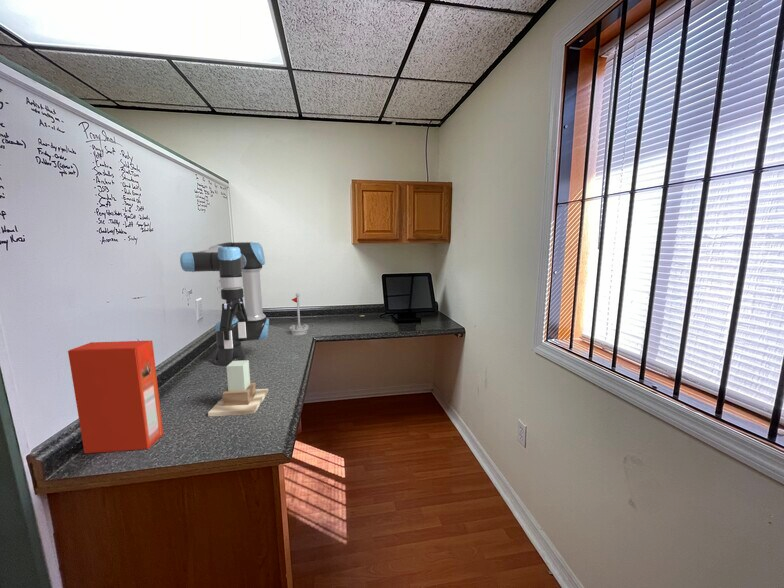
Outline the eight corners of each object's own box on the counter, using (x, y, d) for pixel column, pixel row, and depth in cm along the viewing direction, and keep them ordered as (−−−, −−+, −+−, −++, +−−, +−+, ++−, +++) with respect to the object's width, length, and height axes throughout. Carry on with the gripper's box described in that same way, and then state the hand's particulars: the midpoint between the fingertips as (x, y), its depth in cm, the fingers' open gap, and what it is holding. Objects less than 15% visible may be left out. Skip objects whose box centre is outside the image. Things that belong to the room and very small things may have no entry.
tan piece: (229, 393, 128) (227, 379, 128) (268, 391, 130) (267, 377, 129) (208, 416, 111) (206, 399, 110) (254, 413, 112) (253, 397, 112)
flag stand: (311, 331, 231) (309, 292, 227) (304, 335, 218) (302, 294, 214) (294, 330, 232) (292, 291, 228) (287, 335, 219) (285, 294, 215)
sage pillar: (234, 384, 122) (232, 360, 121) (250, 384, 123) (248, 360, 122) (228, 391, 116) (226, 366, 115) (244, 390, 117) (243, 365, 116)
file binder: (146, 450, 92) (134, 347, 88) (83, 454, 90) (67, 350, 86) (163, 434, 100) (152, 340, 96) (105, 438, 98) (92, 342, 94)
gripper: (234, 284, 126) (238, 334, 129) (205, 292, 102) (210, 353, 105) (253, 284, 127) (256, 333, 130) (228, 292, 103) (233, 352, 106)
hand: (236, 342), depth 117 cm, fingers open, 13 cm apart
